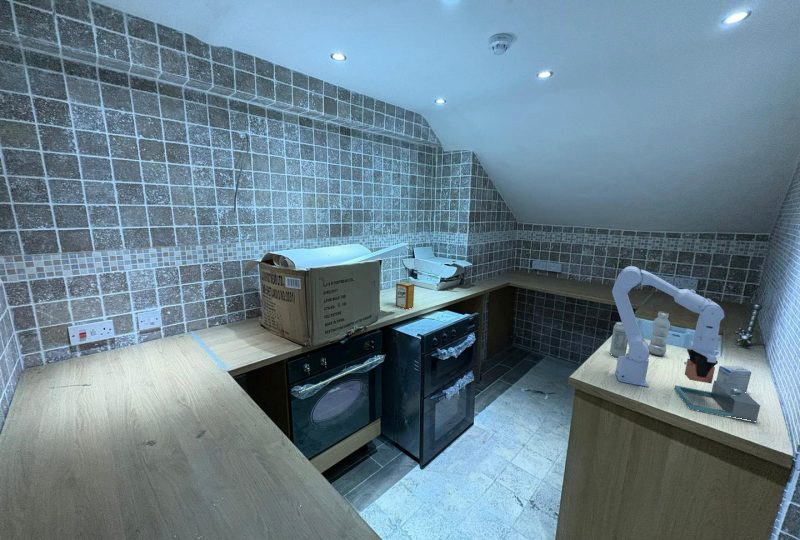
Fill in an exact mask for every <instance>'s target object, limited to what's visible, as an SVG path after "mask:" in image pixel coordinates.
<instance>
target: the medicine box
mask: <svg viewBox="0 0 800 540" xmlns="http://www.w3.org/2000/svg"><path fill="white" fill-rule="evenodd" d="M751 374H752V371H751V370H749V369H747V368H745V367H742V366H741V365H719V366H718V371H717V376H716V379H715V381H720V382H726V383H731V384H736V385H738V386H739V387H740V388H741V389H742V390H743V391H744V392H746V393H747V392H748V387H749V384H750V379H751Z"/></svg>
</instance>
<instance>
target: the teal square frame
mask: <svg viewBox="0 0 800 540" xmlns="http://www.w3.org/2000/svg"><path fill="white" fill-rule="evenodd" d="M674 390H676V391H675V393H677V394H679V395H678V396H679V397H680V399H681V398H682V399H683V400H682V399H681V400H682V402H684V403H686V404H685V405H686V406H687V408H688V407H689V408H690V409H693V410H692V411H695V410H699V411H698V412H700V411H703V412H702V413H705V412H708V413H707V414H710V413H713V414H712V415H715V414H718V415H717V416H719V415H723V416H722V417H724V416H731V417H736V418H742V419H747V420H751V421H756V422H757V421H758V417H759V412H760V409H761V404H759V403H758V402H757V401H756V400H754V398H752V397H751V396H750V395H749V394H748V393H747V392H746V393H745V392H744V391H743V390H742V389H741V388H740V387H739V386H738V385H736V384H731V383H726V382H720V381H716V380H713V382H712V388H711V391H709V390H708V391H707V390H701V389H698V388H697V389H696V388H693V387H687V386H681V385H676V384H675V385H674ZM685 393H686V394H687V393H688V394H693V395H697V396H703V397H709V398H712V399H713V401H715V402H716V404H717V405H719V407H720V406H721V407H722V408H723V409H724V410H725V411H724V410H723V409H722V408H721V407H720V408H721V409H718V408H713V407H707V406H703V405H698V404H693V402H692V401H691V400H690V399H689V397H688V396H687V395H686V394H685ZM689 408H688V409H689ZM690 409H689V410H690Z"/></svg>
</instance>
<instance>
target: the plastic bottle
mask: <svg viewBox="0 0 800 540" xmlns="http://www.w3.org/2000/svg"><path fill="white" fill-rule="evenodd" d="M669 314H670V313H669V312H666V311H658V313H657V317H656V318H655V319H654V320H653V322H652V335H651V339H650V341H649V344H648V345H649V349H648V351H649V354H652V355H654V356H658V357H659V356H660V357H661V356H665V355H666V352H667V338H668V334H669V332H670V328H671V326H672V325H671V322H670V321H669V319H668V318H669Z"/></svg>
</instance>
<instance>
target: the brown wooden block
mask: <svg viewBox="0 0 800 540" xmlns="http://www.w3.org/2000/svg"><path fill="white" fill-rule="evenodd" d="M683 364H684V365H685V369H684V376H685V377H686V378H687V379H689V381H695V382H701V383H705V384H712V385H713V381H714V380H713V379H714V376H715V370H716V366H714V367H712V369H711V370H710V371H709V373H708V375H707V376H706V378H704V377H698V376H697V362H696V360H693V359H690V358H687V360H686V361H684V362H683Z"/></svg>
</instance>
